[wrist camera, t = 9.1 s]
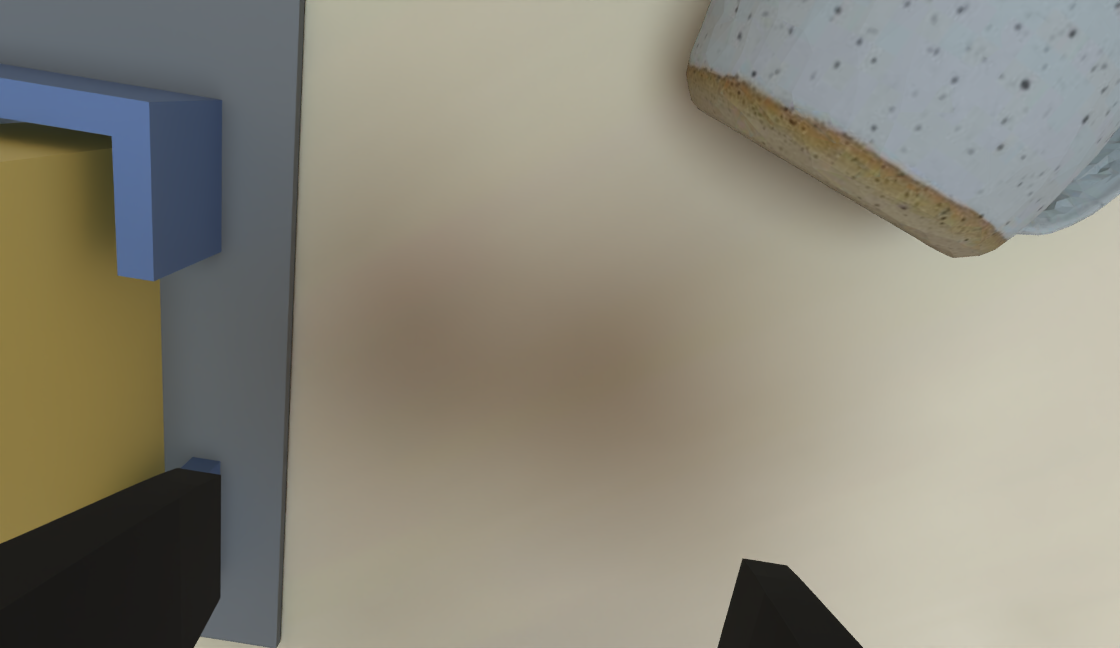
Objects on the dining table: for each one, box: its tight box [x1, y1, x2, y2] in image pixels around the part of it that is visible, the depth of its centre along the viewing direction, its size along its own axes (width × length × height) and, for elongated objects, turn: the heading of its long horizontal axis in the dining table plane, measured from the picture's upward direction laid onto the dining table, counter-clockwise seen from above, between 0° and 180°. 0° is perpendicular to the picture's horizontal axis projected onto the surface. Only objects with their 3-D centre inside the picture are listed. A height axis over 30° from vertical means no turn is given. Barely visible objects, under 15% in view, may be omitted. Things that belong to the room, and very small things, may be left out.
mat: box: [0, 0, 305, 648], centre depth 20 cm, size 19×10×1 cm, turn 171°
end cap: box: [0, 64, 222, 281], centre depth 16 cm, size 4×6×3 cm, turn 81°
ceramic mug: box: [686, 0, 1120, 258], centre depth 13 cm, size 11×8×8 cm
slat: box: [0, 122, 165, 544], centre depth 17 cm, size 11×3×6 cm, turn 171°
